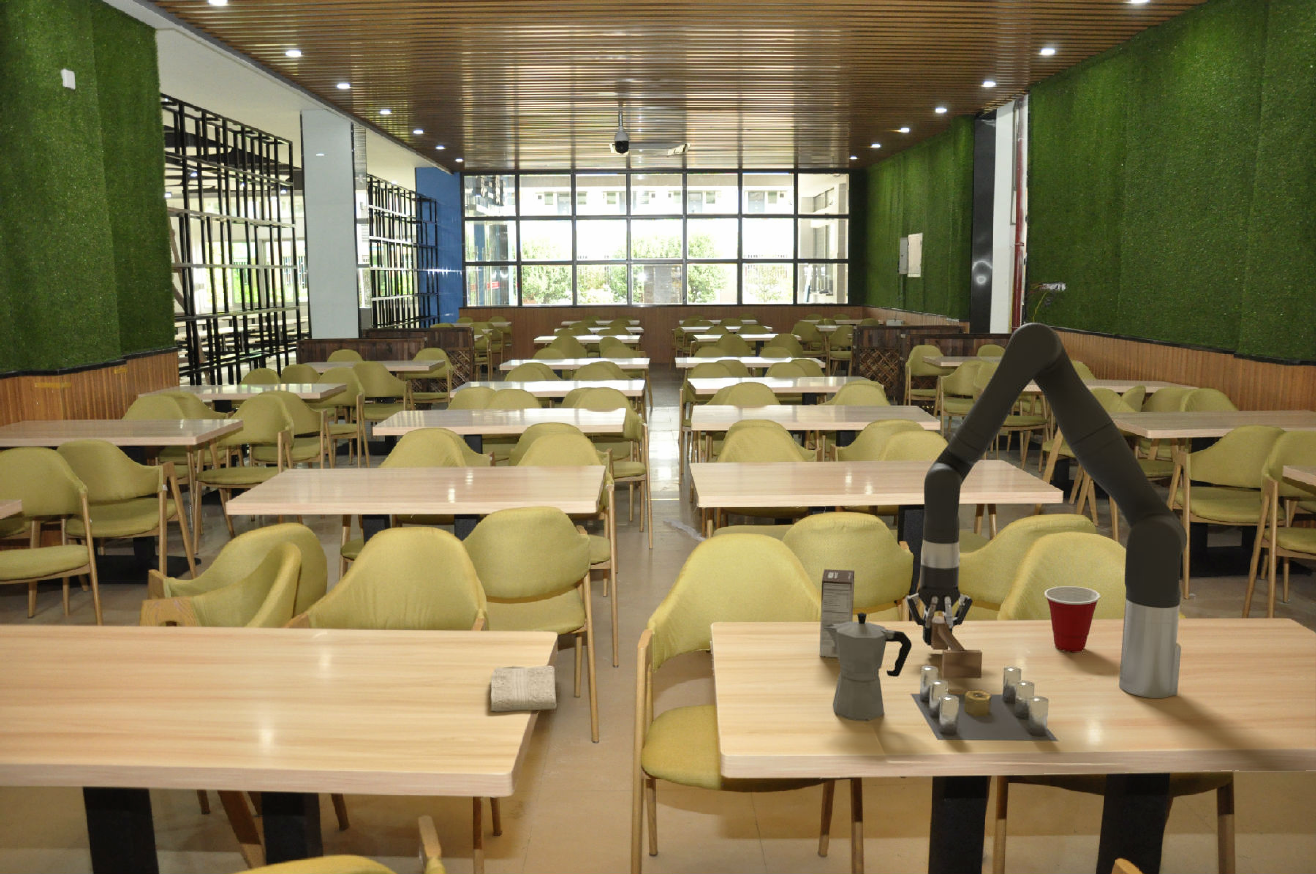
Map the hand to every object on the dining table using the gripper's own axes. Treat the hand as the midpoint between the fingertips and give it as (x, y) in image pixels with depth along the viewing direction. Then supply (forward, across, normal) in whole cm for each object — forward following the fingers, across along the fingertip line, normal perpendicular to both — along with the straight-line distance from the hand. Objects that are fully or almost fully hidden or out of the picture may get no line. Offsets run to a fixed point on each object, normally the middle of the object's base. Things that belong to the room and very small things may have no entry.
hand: (936, 644), depth 221 cm
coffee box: (+2, +20, -2) cm, 20 cm away
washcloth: (+3, +82, +22) cm, 84 cm away
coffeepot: (+3, +20, +30) cm, 36 cm away
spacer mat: (+3, 0, +32) cm, 32 cm away
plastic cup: (+3, -29, -5) cm, 29 cm away
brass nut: (+2, 0, +30) cm, 30 cm away
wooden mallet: (0, 0, +8) cm, 8 cm away
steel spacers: (+3, 0, +32) cm, 32 cm away
